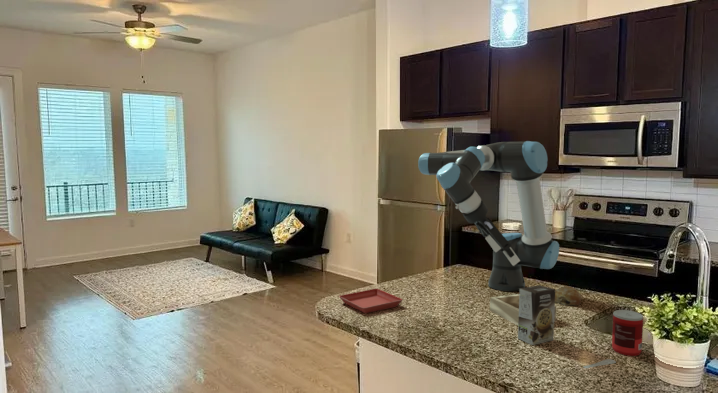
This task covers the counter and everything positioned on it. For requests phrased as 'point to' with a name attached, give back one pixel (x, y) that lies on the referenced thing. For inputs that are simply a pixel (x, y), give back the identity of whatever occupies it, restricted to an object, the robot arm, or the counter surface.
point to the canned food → (627, 332)
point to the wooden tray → (508, 307)
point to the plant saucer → (370, 300)
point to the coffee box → (536, 314)
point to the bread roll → (567, 296)
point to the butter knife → (601, 363)
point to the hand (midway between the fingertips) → (507, 256)
